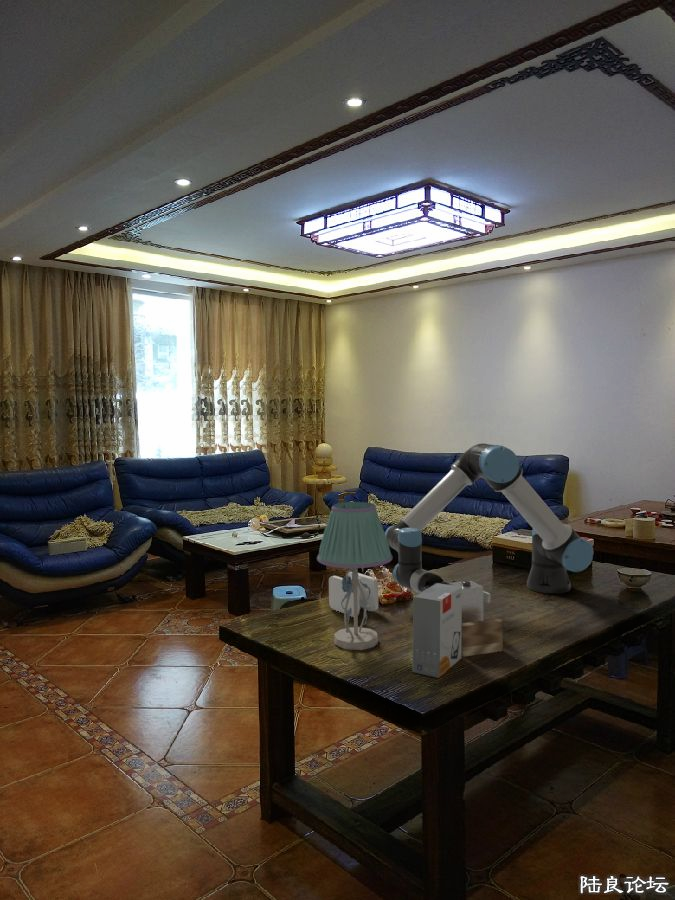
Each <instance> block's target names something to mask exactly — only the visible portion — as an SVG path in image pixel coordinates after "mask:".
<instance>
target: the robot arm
mask: <svg viewBox="0 0 675 900" xmlns="http://www.w3.org/2000/svg"><path fill="white" fill-rule="evenodd" d="M519 464H520V462H519V459H518V456H517V454H516V453H515V451H513V450H511V449H510V448H508V447H507V446H504V445H499V444H488V443H477V444H475V445H473V446H471V447H469V448H468V449H467V450H466V451H465V452H464V453H462V454H461V455H460V456H459V457H458V458H457V459H456V460H455V461H454V462H453V463H452V464H451V465H450V470H449V472H447V473H446V474H445V476H443V477H442V478H441V480H440V481H439V482H437V484H435V486H434V487H433V488H432V489H431V490H429V491H428V492H427V494H426V495H425V496H423V498H422V499H421V500H420V501H418V503H417V504H416V505H415V506H413V508H412V509H411V510H409V512H408V513H407V514H406V515H405V516H404V517H403V518H402V519H401V520H400V521H399V522H397V524H396V525H391V526H389V527H387V529H386V530H385V531H384V533H385V536H386V539H387V542H388V545H389V548H391V549H393V550H395V551H396V552H397V554H398V562H397V564H396V565H395V566H394V568H393V570H392V578H393V580H394V581H395V583H396V584H398V585H400V586H401V587H402V588H405V589H408V590H411V591H413V592H415V593H417V594H419V593H421V592H423V591H425V590H426V589H428V588H430V587H431V586H433V585H435V584H437V583H440V584H446V585H449V583H450V582H447V581H444V579H443V578H442V577H441V576H440V575H438V574H436V573H433V572H431V571H428V570H427V569H423V568H422V566H423V565H422V563H423V562H422V560H423V559H422V546H423V545H422V544H423V538H422V531H423V530H424V529H425V528H426V527H427V526H428V525H429V524H430V523H431V522H432V521H433V520H434V519H435V518H436V517H437V516H438V515H439V514H440V513H441V512H442V511H443V510H444V509H445V508H446V506H448V505H449V504H450V502H452V501H453V499H455V498H456V497H457V496H458V495H459V494H460V493H461V492H462V491H463V490H464V489H465V488H466V487H467V486H472V485H473V484H474V483H475V482H476V481H478V480H479V479H483V480H484V481H486V483H487V484H488V485H489V486H490V487H491V489H492V490H493V491H494V492H496V493H497V492H499V493H500V492H501V493H502V494H503V495H504V496H505V498H506V499H507V500H508V501H509V503H511V505H512V506H513V507H514V509H515V510H516V511H518V513H519V514H520V515H521V516H522V517H523V519H524V520H525V521H526V522H527V523H528V525H529V526H530V527H531V528H532V532H531V568H530V571H529V574H528V577H527V581H526V588H528V589H529V590H530V591H533V592H537V593H543V594H565V593H567V592H570V591H571V581H570V578H569V574H568V572H567V571H569V572H573V573H579V572H582V571H584V570H586V569H587V568H588V567H589V566H590V565H591V563H592V561H593V558H594V557H593V556H594V548H593V545H592V544H591V542H590V541H588V540H587V539H586V538H583V537H581V536H580V535H579V534H578V533H577V532H576V531H575V529H574V528H573V527H572V526H571V525H570V524H566V523H565V524H564V523H563V522H562V521H561V520H560V519H559V518H558V516H557V515H556V514H555V513H554V511H552V510H551V508H550V507H549V506H548V505H547V504H546V503H545V501H544V500H543V499H542V498H541V496H540V495H539V494H538V493H537V492H536V491H535V489H534V488H533V487H532V486H531V485H530V483H529V482H528V481H527V480H526V478H525V477H524V476H523V471H524V469H523V468H522V467H521V465H519ZM453 582H457V581H456V580H452V582H451V583H453ZM484 602H485V603H487V604H490V603H491V593H489V592H487V591H485V590H483V603H484Z"/></svg>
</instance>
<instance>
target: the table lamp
mask: <svg viewBox="0 0 675 900" xmlns="http://www.w3.org/2000/svg"><path fill="white" fill-rule="evenodd" d="M316 561H317V562H318V563H319V564H322V565H324V566H327V567H333V568H340V569H342V568H343V569H347V570H346V574H345V576H344V577H342V578H343V579H342V584H343V585H342V590H343V592H347V594H346V595H345V597H344V599H343V600H342V602H341V605H342V603H343V601H344V600H345V599H346V598H347V597H348V598H347V601H346V605H345V608H343V605H342V608H343V609H344V613H343V615H344V616H343V623H344V626H345V628H341V629H339V630H338V631H336V632H335V633H334V634H333V643H334V645H335V646H337V647H339V648H341V649H344V650H352V651H353V650H354V651H356V650H357V651H364V650H367V649H368V650H369V649H371V648H375V646H376V645H378V643H379V638H378V637H379V636H378V632H377V631H375V630H374V629H372V628H368V627H363V626H365V625H366V624H367V621H368V620H367V619H368V614H367V611H366V609H367V604H366V601H367V600H368V599H369V596H370V592H371V591H370V588H369V587H368V586H367V584H363V583H362V582H361V581H360V583H361V584H362V585H363V586H364V587H365V588H368V589H369V596H368V597H367V599H366V598H365V594H364V592H363V590H362V587H361V585H360V583H359V579H358V573H359V571H358V569H361V571H362V573H364V568H374V567H380V566H384V565H386V564H389V563H390V562H391V561H393V554H392V553H391V549H390V546H389V545H388V542H387V539H386V536H385V530H384V528H383V525H382V523H381V520H380V518H379V514H378V511H377V506H376V504H374V503H371V502H365V501H348V502H347V501H346V502H338V503H334V504H333V505H332V506H331V511H330V513H329V517H328V521H327V524H326V526H325V527H324V531H323V535H322V539H321V542H320V545H319V550H318V554H317V556H316ZM349 572H352V580H351V577H350V576H348V573H349ZM357 585H358V587H359V589H360V591H361V593H362V596H363V598H364V602H363V601H361V605H362V606H363V608H362V609H363V618H362V620H361V623H360V626H359V625H358V623H359V622H358V620H359V617H358V616H359V615H358V603H357ZM351 592H352V593H354V617H353V627H349V622H350V616H349V615H351V613H352V609H351V608H350V609H349V610H348V611H347V606H348V602H349V599H350V596H351ZM346 613H347V615H346Z"/></svg>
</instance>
